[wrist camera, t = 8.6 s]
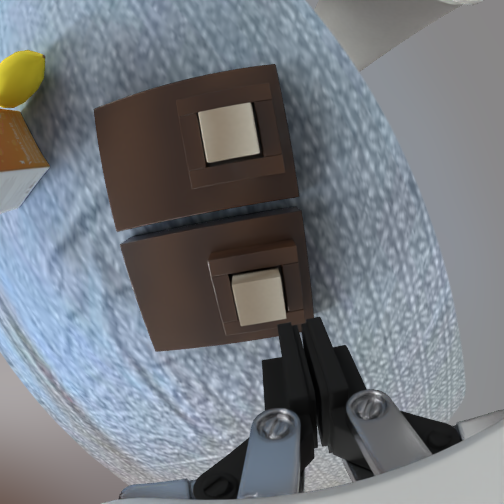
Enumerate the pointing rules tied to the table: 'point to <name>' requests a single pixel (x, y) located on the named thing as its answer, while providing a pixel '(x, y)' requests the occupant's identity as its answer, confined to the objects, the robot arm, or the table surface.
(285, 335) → the robot arm
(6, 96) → the lemon
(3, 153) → the small box
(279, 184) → the keys low
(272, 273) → the key
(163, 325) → the keys high
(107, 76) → the table surface
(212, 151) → the key
